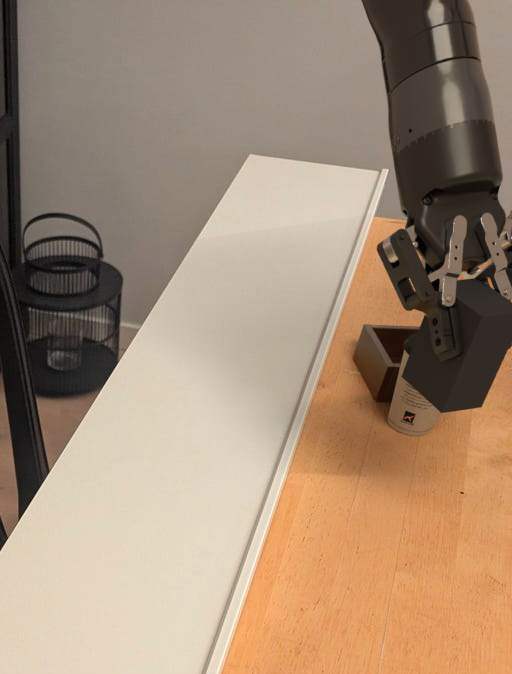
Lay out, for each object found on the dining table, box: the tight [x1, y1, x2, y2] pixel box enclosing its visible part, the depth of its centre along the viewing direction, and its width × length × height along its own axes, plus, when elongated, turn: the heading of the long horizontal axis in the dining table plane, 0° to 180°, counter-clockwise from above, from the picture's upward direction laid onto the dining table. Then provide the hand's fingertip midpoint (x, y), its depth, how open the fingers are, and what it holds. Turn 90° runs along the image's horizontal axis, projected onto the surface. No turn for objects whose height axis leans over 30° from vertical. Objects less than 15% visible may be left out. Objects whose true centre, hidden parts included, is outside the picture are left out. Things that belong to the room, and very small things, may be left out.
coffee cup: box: [386, 332, 442, 437], centre depth 95 cm, size 7×7×10 cm
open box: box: [352, 323, 420, 403], centre depth 104 cm, size 9×10×4 cm
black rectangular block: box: [401, 278, 512, 414], centre depth 75 cm, size 4×6×8 cm, turn 17°
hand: (475, 354), depth 74 cm, fingers closed on black rectangular block, 4 cm apart
